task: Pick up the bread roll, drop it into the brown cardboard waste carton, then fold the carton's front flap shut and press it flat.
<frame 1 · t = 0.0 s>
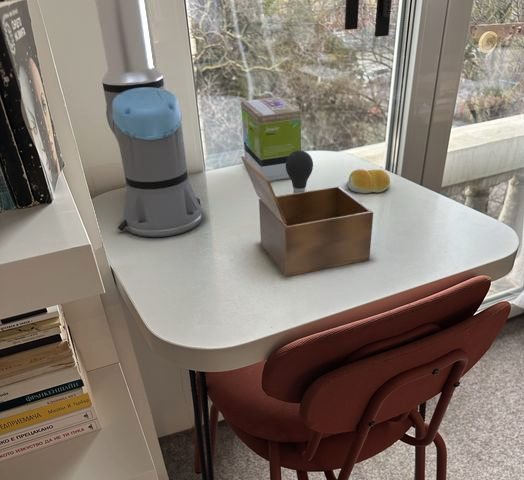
hand: (365, 32, 115), 28 cm above the table, tool pointing down, fingers open, 13 cm apart
tea box: (272, 171, 132), on the table
carton: (313, 251, 96), on the table
light bulb: (299, 200, 116), on the table
flap: (263, 188, 86), point 13 cm above the table, hinge at 110.0°
bread roll: (367, 188, 120), on the table
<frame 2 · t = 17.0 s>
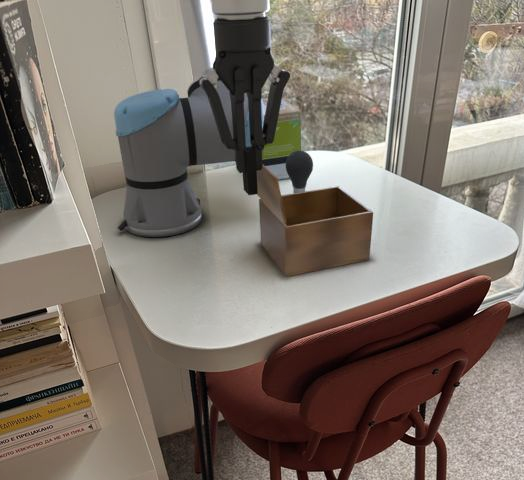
hand: (250, 191, 86), 13 cm above the table, tool pointing down, fingers closed
flap: (266, 187, 87), point 13 cm above the table, hinge at 100.0°
bread roll: (313, 250, 96), resting on carton
everything else where it was.
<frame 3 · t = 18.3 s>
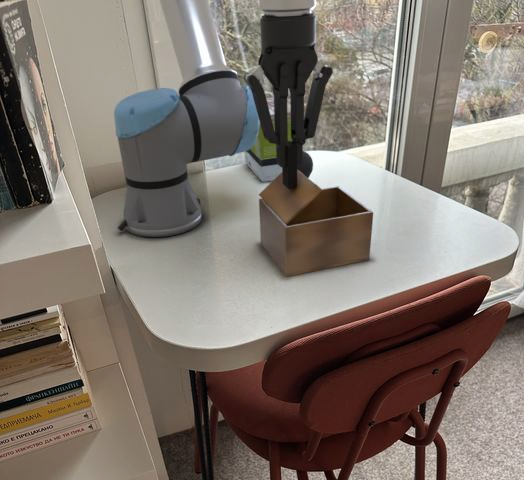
hand: (289, 185, 87), 13 cm above the table, tool pointing down, fingers closed
flap: (288, 192, 88), point 11 cm above the table, hinge at 36.4°
everything else where it was.
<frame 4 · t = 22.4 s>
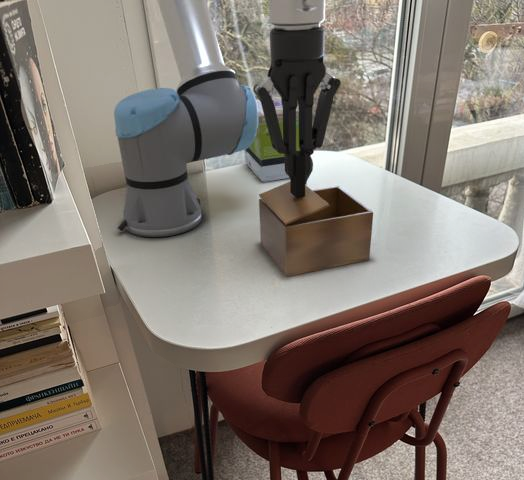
hand: (297, 194, 89), 11 cm above the table, tool pointing down, fingers closed
flap: (292, 200, 89), point 10 cm above the table, hinge at 13.7°, touching gripper
everything else where it was.
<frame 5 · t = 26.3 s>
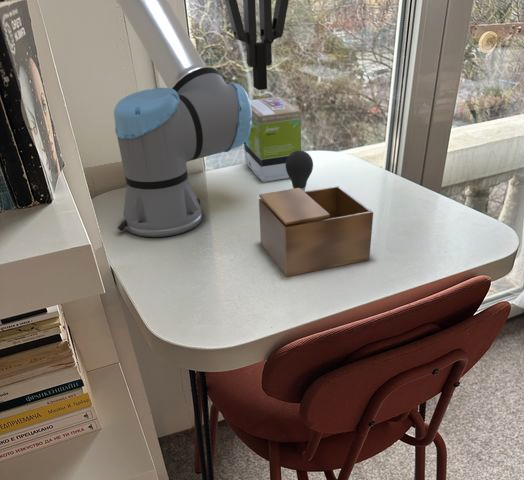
hand: (260, 87, 91), 24 cm above the table, tool pointing down, fingers closed
flap: (293, 205, 90), point 9 cm above the table, hinge at 0.5°
everything else where it was.
at the end: bread roll inside the target area in the carton (0.2 cm from its centre), point 0.3 cm above the carton's base; flap at +0° (first picture: +110°) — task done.
